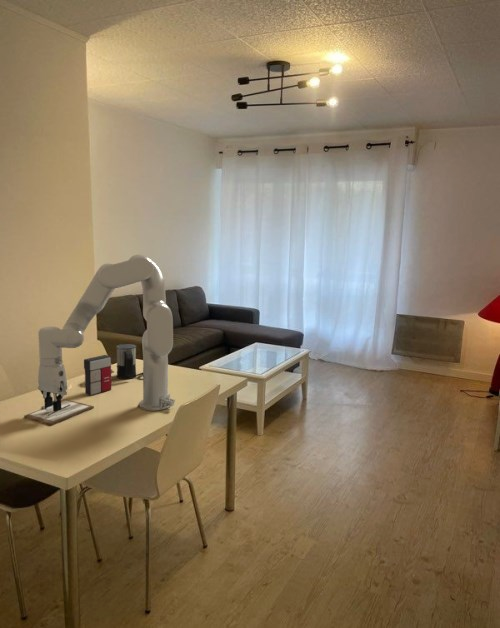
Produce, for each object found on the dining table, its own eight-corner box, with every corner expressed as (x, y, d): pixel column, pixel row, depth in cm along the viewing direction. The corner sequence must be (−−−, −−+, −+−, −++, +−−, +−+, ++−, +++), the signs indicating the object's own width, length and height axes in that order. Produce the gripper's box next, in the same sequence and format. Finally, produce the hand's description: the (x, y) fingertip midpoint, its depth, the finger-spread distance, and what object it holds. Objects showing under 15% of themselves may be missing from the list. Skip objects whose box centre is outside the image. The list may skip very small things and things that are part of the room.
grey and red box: (90, 396, 198) (89, 361, 196) (84, 394, 201) (83, 359, 198) (112, 390, 207) (112, 356, 204) (106, 387, 209) (105, 354, 207)
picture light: (44, 418, 169) (44, 412, 169) (35, 416, 171) (34, 410, 170) (72, 404, 182) (71, 399, 182) (62, 403, 184) (62, 398, 183)
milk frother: (112, 375, 227) (112, 345, 224) (142, 370, 237) (142, 341, 235) (127, 383, 217) (127, 351, 214) (157, 377, 227) (157, 346, 225)
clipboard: (93, 408, 185) (93, 403, 185) (51, 425, 167) (51, 420, 167) (67, 401, 191) (67, 397, 191) (24, 417, 174) (24, 413, 173)
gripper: (75, 362, 173) (77, 410, 176) (43, 355, 180) (45, 402, 183) (59, 367, 166) (61, 417, 169) (26, 360, 173) (28, 408, 176)
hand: (53, 408), depth 176 cm, fingers closed on picture light, 3 cm apart
